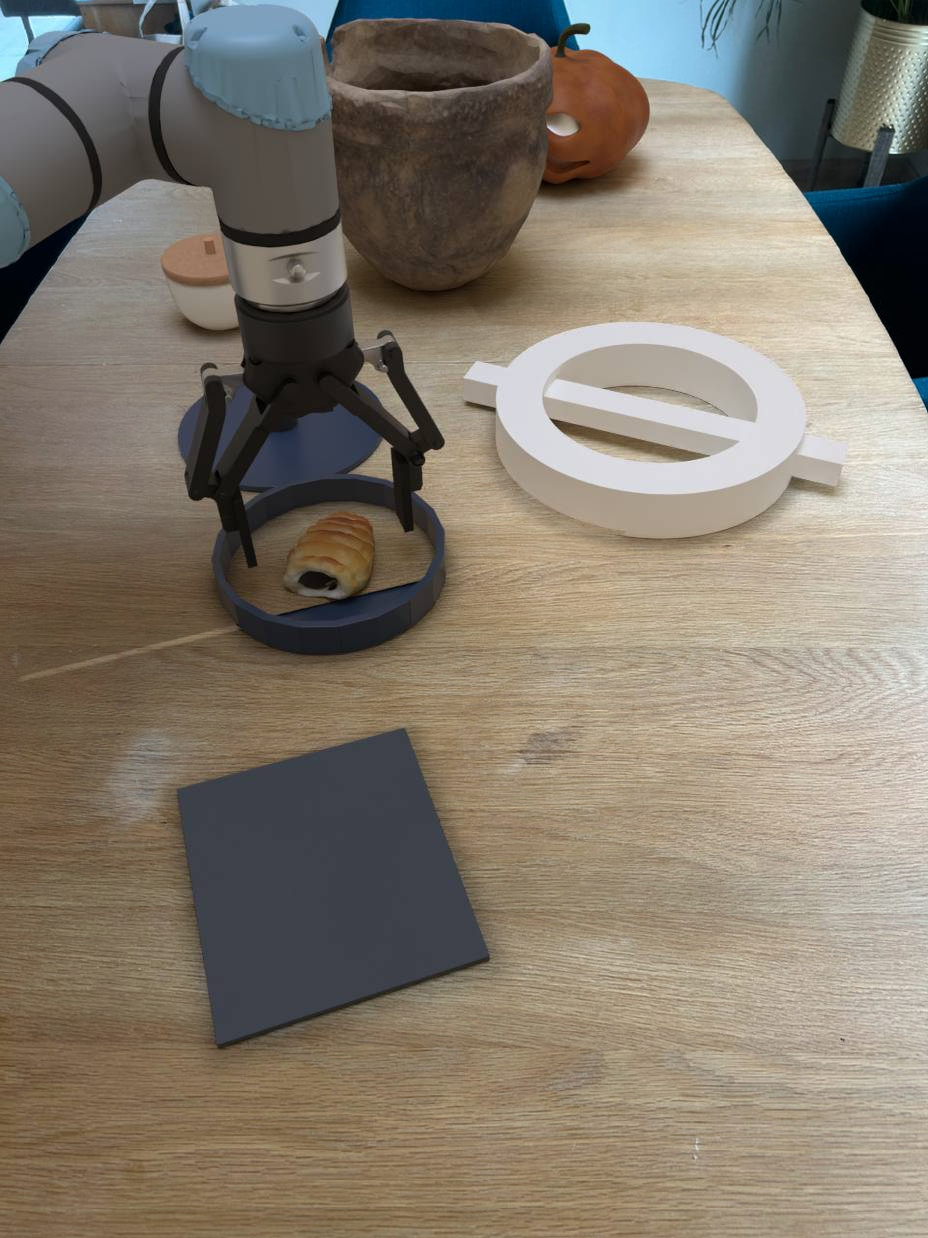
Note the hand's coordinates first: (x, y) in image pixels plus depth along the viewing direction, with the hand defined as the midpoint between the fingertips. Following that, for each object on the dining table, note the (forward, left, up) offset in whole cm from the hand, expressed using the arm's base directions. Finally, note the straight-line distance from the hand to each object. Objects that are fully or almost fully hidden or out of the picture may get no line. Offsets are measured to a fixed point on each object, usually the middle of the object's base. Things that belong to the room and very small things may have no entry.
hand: (328, 538), depth 80 cm
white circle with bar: (-8, +32, -4) cm, 33 cm away
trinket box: (-45, -2, -4) cm, 45 cm away
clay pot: (-46, +23, -4) cm, 52 cm away
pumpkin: (-72, +49, -4) cm, 87 cm away
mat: (+27, -7, -4) cm, 28 cm away
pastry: (0, 0, -4) cm, 4 cm away
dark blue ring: (0, 0, -4) cm, 4 cm away
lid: (-21, 0, -3) cm, 21 cm away
